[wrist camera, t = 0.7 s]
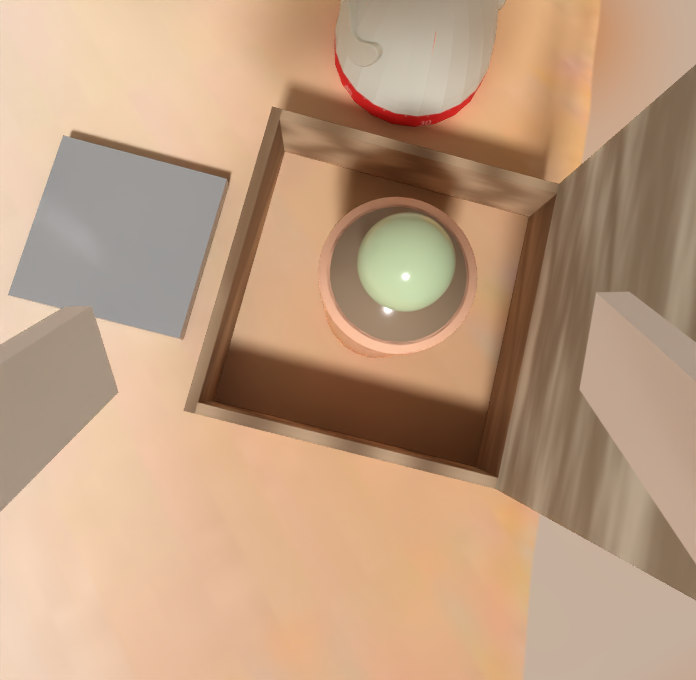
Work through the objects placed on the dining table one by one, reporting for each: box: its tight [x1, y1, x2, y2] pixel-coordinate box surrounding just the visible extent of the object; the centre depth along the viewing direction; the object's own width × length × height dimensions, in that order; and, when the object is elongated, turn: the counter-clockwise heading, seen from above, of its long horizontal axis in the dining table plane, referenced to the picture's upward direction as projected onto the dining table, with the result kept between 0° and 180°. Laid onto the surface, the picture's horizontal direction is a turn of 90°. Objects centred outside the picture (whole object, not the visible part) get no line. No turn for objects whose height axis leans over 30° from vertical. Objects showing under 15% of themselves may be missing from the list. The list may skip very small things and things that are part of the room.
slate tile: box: [8, 135, 229, 340], centre depth 39 cm, size 14×14×1 cm
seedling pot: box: [319, 197, 477, 358], centre depth 33 cm, size 10×10×16 cm
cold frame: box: [184, 65, 696, 600], centre depth 28 cm, size 24×24×25 cm
